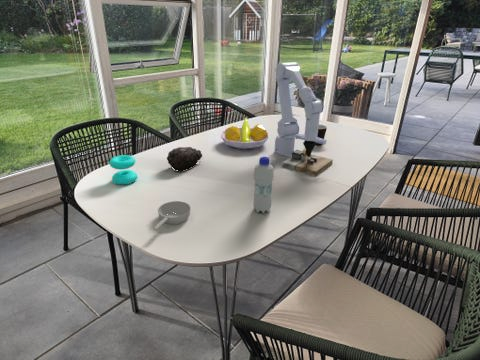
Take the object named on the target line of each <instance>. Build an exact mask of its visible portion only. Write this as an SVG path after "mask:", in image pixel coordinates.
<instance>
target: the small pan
mask: <svg viewBox="0 0 480 360" xmlns="http://www.w3.org/2000/svg"><path fill="white" fill-rule="evenodd" d="M173 212H174V213H173ZM157 213H158V217H159V219H160V221H159V222H157V224H156V225H155V226H154V227H153V230H158V229H159V228H160V227H161V226H162V225H164V223H165V224H167V225H179V224H183V223H184V222H186V221H187V219H188V218H189V217H190V215H191V206H190V204H189V203H187V202H185V201H178V200H177V201H176V200H175V201H174V200H173V201H168V202H166V203H163V204H161V205H160V206H159V207H158V208H157ZM175 213H176V214H175ZM167 214H168V215H167Z"/></svg>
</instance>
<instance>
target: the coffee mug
mask: <svg viewBox="0 0 480 360" xmlns="http://www.w3.org/2000/svg"><path fill="white" fill-rule="evenodd" d="M327 128H328V126H326V125H325V124H319V126H318V135H317V137H319V138H322V139H325V137H326V132H327V130H328V129H327ZM321 145H322V144H320V143H317V144H316V145H315V147H321ZM322 146H323V145H322Z"/></svg>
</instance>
